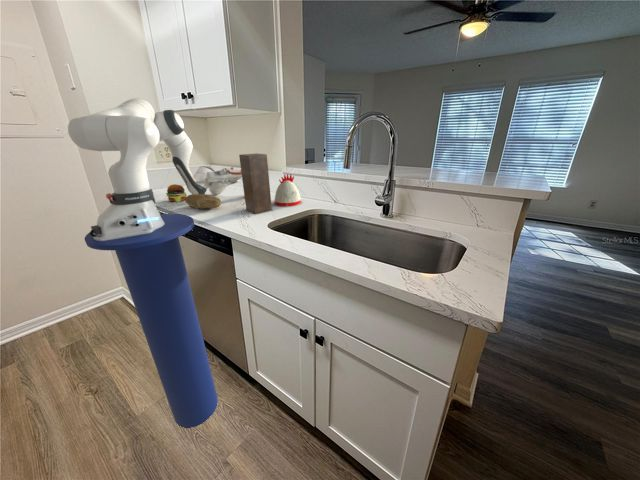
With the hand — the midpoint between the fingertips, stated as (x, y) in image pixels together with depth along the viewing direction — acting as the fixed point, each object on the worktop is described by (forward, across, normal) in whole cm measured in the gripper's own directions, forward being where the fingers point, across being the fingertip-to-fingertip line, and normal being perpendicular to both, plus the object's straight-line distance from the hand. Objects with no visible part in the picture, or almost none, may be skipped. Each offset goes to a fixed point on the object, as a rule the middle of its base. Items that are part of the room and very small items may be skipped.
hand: (229, 168), depth 139 cm
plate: (+4, 0, +3) cm, 5 cm away
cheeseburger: (-30, -22, +3) cm, 38 cm away
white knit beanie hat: (+14, +18, +28) cm, 37 cm away
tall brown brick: (+15, 0, +29) cm, 33 cm away
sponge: (-6, -18, +17) cm, 25 cm away
